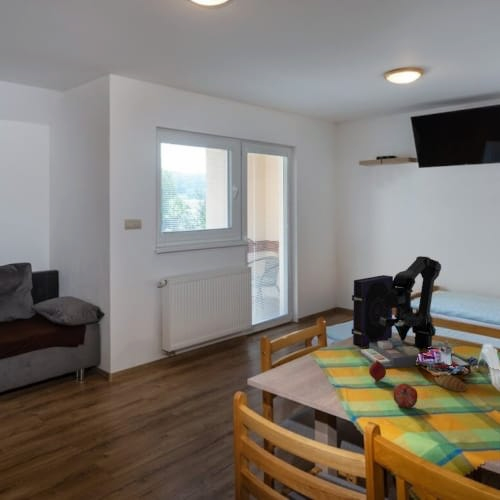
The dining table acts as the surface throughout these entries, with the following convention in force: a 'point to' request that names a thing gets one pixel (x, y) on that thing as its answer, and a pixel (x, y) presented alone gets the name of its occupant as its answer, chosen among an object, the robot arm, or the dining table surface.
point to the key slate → (395, 341)
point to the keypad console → (388, 356)
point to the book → (371, 309)
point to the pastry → (451, 383)
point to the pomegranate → (405, 395)
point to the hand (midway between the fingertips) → (402, 340)
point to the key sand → (411, 350)
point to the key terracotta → (392, 351)
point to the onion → (377, 371)
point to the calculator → (456, 364)
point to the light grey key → (384, 344)
